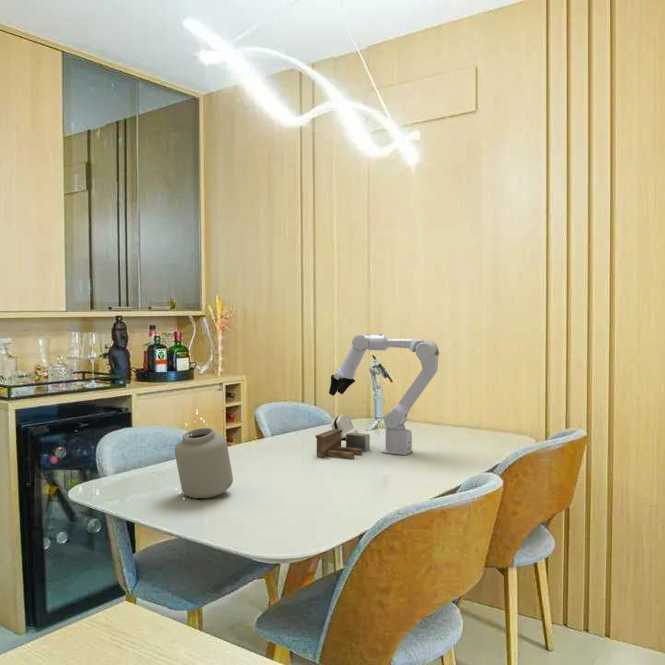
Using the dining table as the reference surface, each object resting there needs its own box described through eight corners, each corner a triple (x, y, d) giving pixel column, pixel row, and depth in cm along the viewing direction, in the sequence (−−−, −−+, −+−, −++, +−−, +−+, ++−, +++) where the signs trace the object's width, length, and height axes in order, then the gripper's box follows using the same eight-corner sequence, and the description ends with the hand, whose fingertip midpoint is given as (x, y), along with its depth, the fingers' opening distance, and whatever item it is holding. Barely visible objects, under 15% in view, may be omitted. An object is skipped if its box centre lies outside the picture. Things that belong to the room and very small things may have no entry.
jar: (192, 508, 177) (192, 415, 176) (158, 498, 186) (157, 410, 185) (243, 492, 192) (243, 407, 191) (209, 484, 201) (209, 402, 200)
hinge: (347, 440, 267) (339, 417, 268) (336, 443, 268) (328, 420, 269) (358, 433, 283) (350, 411, 284) (348, 436, 284) (341, 414, 285)
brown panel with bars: (365, 453, 245) (365, 432, 244) (348, 461, 232) (348, 439, 231) (333, 449, 251) (333, 428, 250) (315, 457, 238) (315, 435, 237)
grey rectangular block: (369, 450, 250) (369, 434, 250) (365, 452, 247) (365, 436, 246) (350, 448, 254) (350, 432, 254) (345, 450, 250) (346, 434, 250)
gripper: (350, 357, 260) (335, 387, 263) (334, 358, 247) (318, 389, 250) (365, 366, 257) (349, 396, 260) (349, 367, 244) (333, 399, 247)
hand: (335, 393), depth 255 cm, fingers open, 7 cm apart
